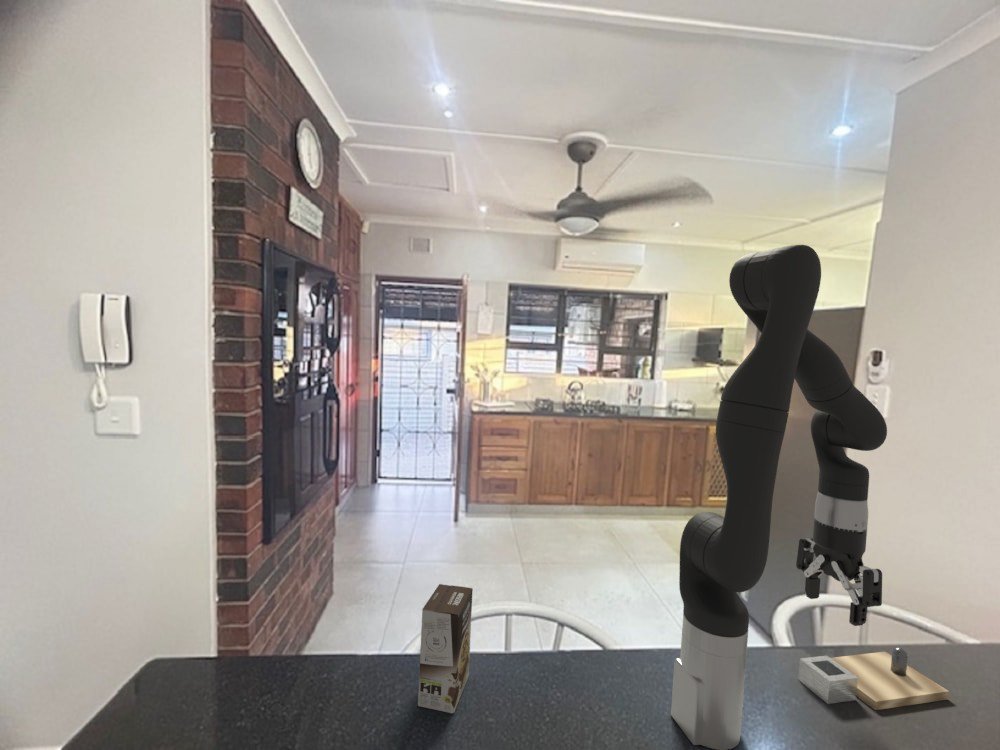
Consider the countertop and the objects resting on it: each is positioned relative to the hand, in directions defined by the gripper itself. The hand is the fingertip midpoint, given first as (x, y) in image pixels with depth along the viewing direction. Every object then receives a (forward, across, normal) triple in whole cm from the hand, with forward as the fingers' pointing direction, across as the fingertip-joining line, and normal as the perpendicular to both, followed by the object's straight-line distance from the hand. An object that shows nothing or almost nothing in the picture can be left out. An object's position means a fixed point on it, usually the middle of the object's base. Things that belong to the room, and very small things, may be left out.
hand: (833, 610), depth 82 cm
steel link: (+14, 0, 0) cm, 15 cm away
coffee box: (+14, -10, -67) cm, 69 cm away
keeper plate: (+15, 0, +12) cm, 19 cm away
